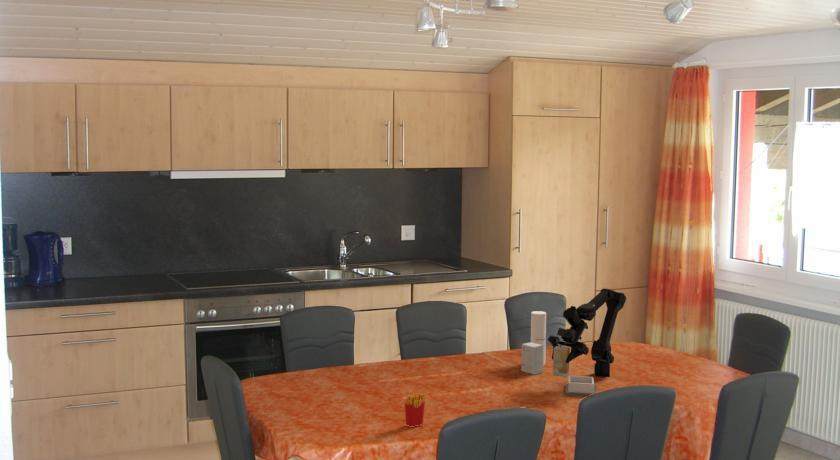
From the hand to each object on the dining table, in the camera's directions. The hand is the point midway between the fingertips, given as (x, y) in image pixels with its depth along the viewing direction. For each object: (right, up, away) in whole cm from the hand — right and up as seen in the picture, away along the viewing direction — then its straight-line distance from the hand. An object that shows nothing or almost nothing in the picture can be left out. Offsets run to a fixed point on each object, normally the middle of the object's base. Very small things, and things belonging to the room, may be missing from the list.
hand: (559, 361), depth 353 cm
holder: (+9, -13, -1) cm, 16 cm away
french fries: (-62, -18, -42) cm, 77 cm away
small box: (-8, -10, +28) cm, 30 cm away
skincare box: (+1, -7, +2) cm, 7 cm away
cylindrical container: (-3, -8, +41) cm, 42 cm away
